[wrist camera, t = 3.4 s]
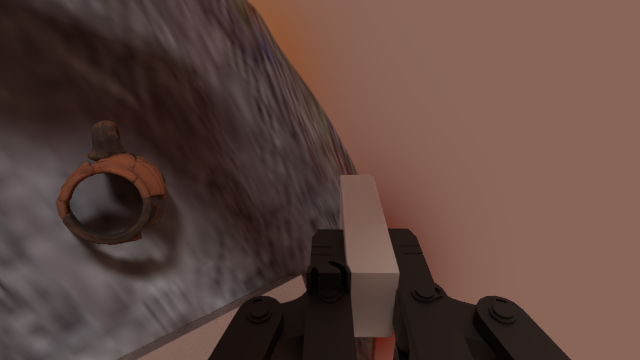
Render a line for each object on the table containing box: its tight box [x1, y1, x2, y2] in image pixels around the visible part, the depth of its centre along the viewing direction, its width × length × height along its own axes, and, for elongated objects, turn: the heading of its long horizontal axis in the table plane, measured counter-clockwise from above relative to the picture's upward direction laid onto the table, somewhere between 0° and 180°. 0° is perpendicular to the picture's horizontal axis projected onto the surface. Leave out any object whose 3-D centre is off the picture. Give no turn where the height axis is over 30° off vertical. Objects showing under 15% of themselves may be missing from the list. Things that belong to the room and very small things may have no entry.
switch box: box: [117, 275, 306, 360], centre depth 38 cm, size 10×32×4 cm, turn 114°
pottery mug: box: [56, 120, 167, 245], centre depth 34 cm, size 12×10×8 cm
